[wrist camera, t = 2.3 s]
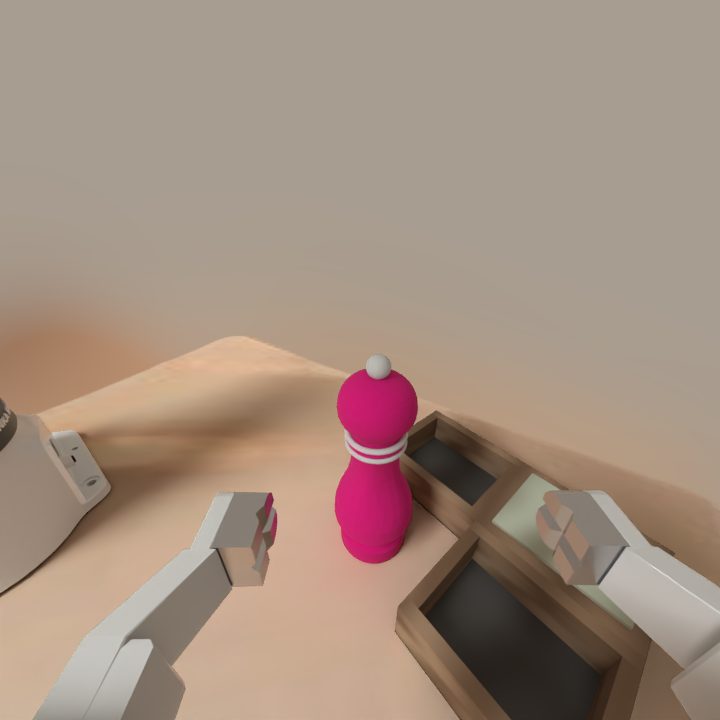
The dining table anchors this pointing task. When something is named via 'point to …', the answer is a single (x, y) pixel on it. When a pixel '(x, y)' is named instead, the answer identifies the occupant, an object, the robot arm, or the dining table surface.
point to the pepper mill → (375, 460)
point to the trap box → (508, 595)
